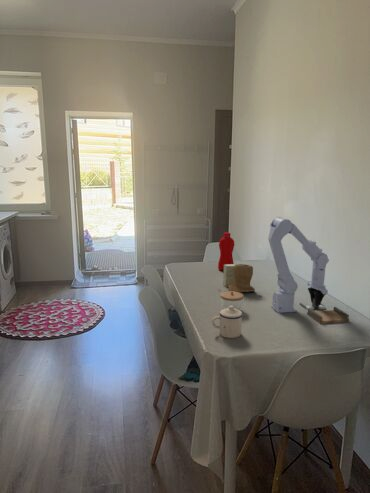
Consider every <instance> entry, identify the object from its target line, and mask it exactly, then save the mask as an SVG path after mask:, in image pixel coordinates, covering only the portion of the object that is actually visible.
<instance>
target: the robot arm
mask: <svg viewBox="0 0 370 493" xmlns="http://www.w3.org/2000/svg"><path fill="white" fill-rule="evenodd" d="M269 226H270V227H269V228H270V229H269V233H268V238H267V239H268V243H269V246H270V250H271V253H272V256H273V260H274V263H275V267H276V270H277V272H278V273H277V285H278V286H279V288H278V291H275V292H273V294H272V306H271V308H272V309H274V310H275V311H276V312H277V313H279V314H283V313H294V312H298V310H297V309H296V308H294V306H295V293H296V291H297V290H298V288H299V287H298V283H297V282H296V281H295V279H294V276H293V275H292V273H291V271H290V267H289V265H288V261H287V257H286V255H285V254H286V253H285V250H284V248H283V244H282V240H283V239H284V237H286V236H287V235H288V234H290V235H291V236H293V237H294V238H295V240H297V241H298V242H299V243H300V244H301V245H302V246H301V248H302V250H303V251H304V253H306V255H307V256H309V258H310V259H311V261H312V270H311V271H312V272H311V280H308V281H307V282H306V283H307V286H309V287H307V290H308V294H309V296H310V301H311V302H310V303H311V304H312V302H313V298H315V305H316V306H319V305H320V304H322V301H323V299H324V297H325V296H326V295H328V291H329V290H328V289H327V288H326V287H327V286H326V285H325V278H326V277H325V276H326V267H327V264H328V263H329V261H330V259H329V257H328V255H327V254H326V253H324V252H323V249H322V248H320V247H319V246H318V245H317V242H316V241H315V240H312V239H311V240H309V239H307V237H306V236H305V235H304V233H303V232H302V231H301V230H300V229H299V228H298V227H297V226H296V224H294V223H293V222H292V221H291V220H290V219H287V218H283V217H281V216H277V217H274V219H273V220H272V221H271V223H270V225H269Z"/></svg>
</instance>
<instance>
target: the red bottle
mask: <svg viewBox="0 0 370 493" xmlns="http://www.w3.org/2000/svg"><path fill="white" fill-rule="evenodd" d="M218 248H219V252H220V254H219V260H218V264H217V269H218V270H219V271H221V270H223V271H222V272H224V265H225V264H234V263H235V262H234V258H233V252H234V248H235V241H234V238H232V237H231V232H223V237H221V238H220V239H219V243H218ZM234 265H235V264H234Z"/></svg>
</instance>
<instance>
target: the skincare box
mask: <svg viewBox="0 0 370 493" xmlns="http://www.w3.org/2000/svg"><path fill="white" fill-rule="evenodd" d="M235 265H236V264H225V265H224V271H223V274H222V275H223V277H222V279H223V280H222V281H223V282H222V285H223V286H224V287H226V288H229V285H233V284H234V283H235V277H234V266H235Z"/></svg>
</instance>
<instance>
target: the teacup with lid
mask: <svg viewBox="0 0 370 493" xmlns="http://www.w3.org/2000/svg"><path fill="white" fill-rule="evenodd" d="M242 318H243V312H242V311H241V309H239V310H237V309H235V308H234V307H233V306H229V308H226V309H223V308H222V309H221V310H220V312H219V315H216V316H213V317H212V319H211V323H212V326H213V327H214V328H215V329H218V330H219V334H220V335H221V337H224V338H226V339H236V338H239V337H241V335H242V321H243V319H242ZM217 319H219V325H216V323H215V320H217Z"/></svg>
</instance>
